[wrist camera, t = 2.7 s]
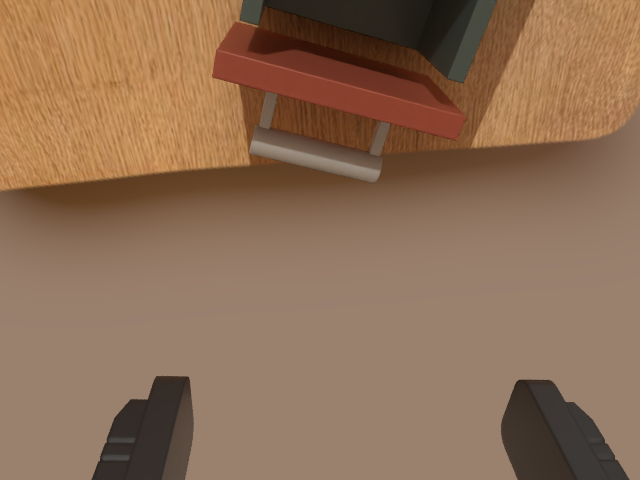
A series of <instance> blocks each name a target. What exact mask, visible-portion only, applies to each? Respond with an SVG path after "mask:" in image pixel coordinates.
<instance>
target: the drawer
mask: <svg viewBox="0 0 640 480" xmlns="http://www.w3.org/2000/svg"><path fill="white" fill-rule="evenodd" d="M496 2H497V0H243V4H242V10H241V15H240V20H241V21H244V22H248V23H251V24H255V25H259V23H260V20H261V18H262V15H263V12H264V10H265V7H266V6H267V7H270V8H274V9H277V10H280V11H284V12H287V13H291V14H294V15H298V16H301V17H305V18H308V19H312V20H315V21H318V22H322V23H325V24H329V25H332V26H336V27H339V28H343V29H346V30H349V31H353V32H356V33H360V34H363V35H367V36H370V37H374V38H377V39H380V40H384V41H387V42H391V43H394V44H398V45H401V46H405V47H408V48H411V49H415V50H417V51H418V52H419V53H420V54H422V55H423V56H424V57H425V58H426V59H427V60H428V61H429V62H430V63H431V64H432V65H433V66H434V67H435V68H436V69H437V70H439V71H440V72H441V73H442V74H443V75H444V76H445V77H446V78H447V79H449V80H453V81H456V82H460V83H464V80H465V78H466V75H467V73H468V71H469V68H470V66H471V63H472V61H473V58H474V56H475V54H476V51H477V49H478V46H479V44H480V41H481V39H482V36H483V34H484V32H485V29H486V27H487V24H488V22H489V19H490V17H491V14H492V12H493V10H494V7H495V5H496ZM212 77H213V78H217V79H220V80H224V81H228V82H232V83H236V84H240V85H244V86H247V87H251V88H255V89H259V90H263V91H266V94H265V99H264V103H263V108H262V113H261V117H260V122H259V124H255V126H254V131H253V136H252V140H251V145H250V150H249V154H252V155H256V156H261V157H265V158H269V159H273V160H277V161H282V162H286V163H290V164H294V165H299V166H303V167H307V168H312V169H316V170H320V171H324V172H328V173H332V174H336V175H341V176H345V177H349V178H354V179H358V180H362V181H366V182H370V183H375V182H376V181H377V179H378V177H379V175H380V172H381V168H382V155H380V154H381V151H382V148H383V146H384V143H385V140H386V137H387V134H388V131H389V129H390V126H391V124H393V125H397V126H401V127H405V128H409V129H413V130H416V131H420V132H424V133H428V134H432V135H436V136H439V137H443V138H447V139H451V140H455V141H456V140H457V138H458V136H459V134H460V131H461V129H462V127H463V124H464V122H465V120H466V116H465V115H464V114H463V113H462V112H461V111H460V110H459V109H458V108H457V106H456V105H455V104H454V103H453V102H452V101H451V100H450V99H449V98H448V97H447V96H446V95H445V94H444V93H443V92H442V91H441V90H440V88H439V87H438V86H437V85H436V84H435V83H434V82H433V81H432V80H431V79H430V78H429V77H428V76H426V75H423V74H419V73H416V72H412V71H409V70H405V69H402V68H398V67H394V66H391V65H387V64H384V63H380V62H377V61H373V60H370V59H366V58H363V57H359V56H355V55H352V54H348V53H345V52H341V51H338V50H334V49H331V48H327V47H323V46H320V45H316V44H313V43H309V42H306V41H302V40H299V39H295V38H291V37H288V36H284V35H281V34H277V33H274V32H270V31H267V30H263V29H260V28H256V27H252V26H249V25H245V24H242V23H238V22H235V23H234V24H233V26H232V27H231V29H230V31H229V32H228V34H227V35H226V37H225V38H224V40H223V41H222V43H221V44H220V46H219V47H218V49H217V50H216V56H215V62H214V68H213V74H212ZM278 95H282V96H286V97H290V98H293V99H297V100H301V101H305V102H309V103H313V104H317V105H320V106H324V107H328V108H332V109H336V110H340V111H343V112H347V113H351V114H355V115H359V116H363V117H366V118H370V119H374V120H378V122H377V125H376V128H375V131H374V134H373V137H372V140H371V143H370V146H369V149H368V151H369V152H368V151H364V150H360V149H356V148H352V147H348V146H344V145H340V144H336V143H332V142H328V141H324V140H320V139H316V138H312V137H308V136H303V135H299V134H295V133H291V132H287V131H283V130H279V129H275V128H271V123H272V119H273V114H274V110H275V106H276V101H277V97H278Z"/></svg>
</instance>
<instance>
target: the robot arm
mask: <svg viewBox="0 0 640 480" xmlns="http://www.w3.org/2000/svg"><path fill="white" fill-rule="evenodd" d="M193 424H194V423H193V409H192V399H191V389H190V380H189V377H179V376H176V377H175V376H157V377H156V378H155V380H154V382H153V385H152V388H151V391H150V394H149V398H148V400H137V399H136V400H135V399H133V400H132V399H131V400H130V401H129V402H128V403H127V404H126V405H125V407H124V408H123V409H122V410H121V411H120V412H119V413H118V415H117V416H116V417H115V418H114V421H113V424H112V427H111V429H110V432H109V434H108V437H107V443H106V444H105V445H104V448H103V451H102V453H101V456H100V461H99V462H98V464H97V467H96V470H95V472H94V475H93V478H92V480H185V476H186V471H187V466H188V461H189V456H190V451H191V446H192V438H193ZM501 435H502V440H503V444H504V447H505V450H506V452H507V455H508V457H509V460H510V462H511V464H512V467H513V469H514V472H515V474H516V477H517V479H518V480H629V478H628V477H627V475H626V473H625V472H624V470H623V468H622V467H621V465H620V464H619V462H618V460H615V455H614V454H613V452H612V451H611V449H610V447H609V446H608V444H606V443H605V439H604V437H603V436H602V434H601V433H600V431H599V429H598V428H597V426H596V425H595V423H594V421H593V420H592V419H591V418H590V417H589V416H588V415H587V414H586V413H585V412H584V411H582V410H581V409H580V408H579V407H578V406H577V405H576V404H575V403H574V402H565V400H564V399H563V397H562V395H561V393H560V392H559V390H558V388H557V387H556V385H555V384H554V383H553V382H552V381H550V380H518V381H517V382H516V384H515V386H514V389H513V392H512V394H511V397H510V400H509V403H508V405H507V408H506V411H505V414H504V416H503V419H502V424H501Z"/></svg>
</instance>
